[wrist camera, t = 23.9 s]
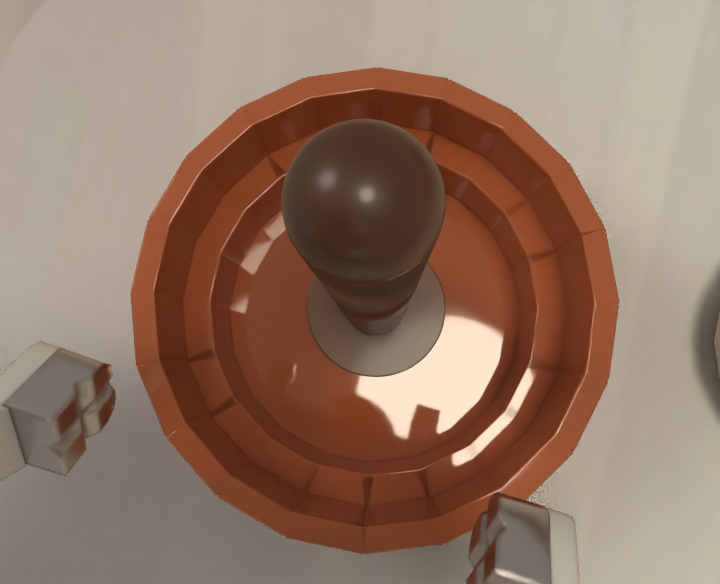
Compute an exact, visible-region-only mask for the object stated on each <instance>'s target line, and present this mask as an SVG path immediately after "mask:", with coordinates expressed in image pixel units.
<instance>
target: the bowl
mask: <svg viewBox="0 0 720 584" xmlns="http://www.w3.org/2000/svg"><path fill="white" fill-rule="evenodd" d="M351 119H374V120H381V121H385V122H388V123H391V124H394V125H397V126H399V127H400V128H402V129H404V130H406V131H407V132H409V133H411V134H412V135H413V136H414V137H415V138H416V139H418V140H419V141H420V142H421V143H422V144H423V145H424V146H425V148H426V149H427V150H428V152H429V153H430V154H431V156H432V157H433V158H434V160H435V162H436V164H437V166H438V168H439V170H440V172H441V175H442V179H443V183H444V187H445V203H446V205H445V216H444V221H443V225H442V228H441V231H440V234H439V237H438V239H437V241H436V243H435V246H434V248H433V250H432V253H431V255H430V257H429V260H428V263H429V264H430V265H431V267H432V268H433V269H434V271H435V272H436V274H437V276H438V278H439V280H440V283H441V285H442V288H443V292H444V297H445V319H444V325H443V328H442V331H441V334H440V336H439V338H438V340H437V342H436V344H435V345H434V347H433V348H432V350H431V351H430V352H429V353H428V354H427V355H426V357H424V358H423V359H422V360H421V361H420V362H419V363H417V364H416V365H414V366H413V367H411V368H409V369H407V370H405V371H403V372H401V373H398V374H395V375H390V376H385V377H368V376H362V375H358V374H355V373H352V372H349V371H347V370H345V369H343V368H341V367H340V366H338V365H337V364H335V363H334V362H332V361H331V360H330V359H329V358H328V357H327V356H326V355H325V354H324V353H323V351H322V350H321V349H320V348H319V346H318V344H317V343H316V341H315V339H314V337H313V335H312V333H311V330H310V326H309V322H308V317H307V300H308V294H309V290H310V287H311V284H312V281H313V279H314V277H315V274H314V273H313V272H312V271H311V269H310V268H309V267H308V265H307V264H306V263H305V261H304V260H303V259H302V257H301V256H300V255H299V253H298V252H297V250H296V249H295V247H294V246H293V244H292V242H291V240H290V238H289V236H288V234H287V231H286V228H285V224H284V219H283V215H282V206H281V194H282V189H283V183H284V179H285V176H286V174H287V171H288V169H289V166H290V164H291V162H292V160H293V159H294V157H295V156H296V154H297V153H298V151H299V150H300V148H301V147H302V146H303V145H304V144H305V143H306V142H307V141H308V140H309V139H310V138H311V137H313V136H314V135H315V134H317V133H318V132H320V131H321V130H323V129H325V128H327V127H329V126H331V125H334V124H336V123H339V122H343V121H347V120H351ZM186 157H187V158H185V159H184V161H183V162H182V164H181V166H180V167H179V169H178V171H177V172H176V174H175V176H174V177H173V179H172V181H171V182H170V184H169V186H168V187H167V189H166V191H165V192H164V194H163V196H162V197H161V199H160V201H159V202H158V204H157V206H156V207H155V209H154V211H153V212H152V214H151V216H150V218H149V219H150V220H148V221H147V225H146V229H145V234H144V238H143V242H142V246H141V250H140V254H139V259H138V263H137V267H136V271H135V275H134V280H133V284H132V288H131V291H132V292H131V304H132V318H133V331H134V344H135V358H136V366H138V367H137V369H138V371H139V374H140V376H141V379H142V381H143V384H144V386H145V388H146V391H147V393H148V396H149V398H150V401H151V403H152V405H153V408H154V410H155V413H156V415H157V418H158V420H159V422H160V425H161V427H162V430H163V432H164V435H165V436H166V437H167V436H168V437H167V439H168V441H169V442H170V443H171V444H172V445H173V446H174V447H175V449H176V450H177V451H178V452H179V453H180V454H181V456H182V457H183V458H184V459H185V460H186V461H187V463H188V464H189V465H190V466H191V467H192V468H193V470H194V471H195V472H196V473H197V474H198V475H199V477H200V478H201V479H202V480H203V481H204V482H205V484H206V485H207V486H208V487H209V488H210V489H211V491H212V492H213V493H214V494H215V495H218V497H219V498H220V499H222V500H223V501H225V502H227V503H228V504H230V505H232V506H233V507H235V508H237V509H238V510H240V511H242V512H243V513H245V514H247V515H248V516H250V517H252V518H254V519H255V520H257V521H259V522H260V523H262V524H264V525H265V526H267V527H269V528H270V529H272V530H274V531H275V532H277V533H279V534H280V535H282V536H285V537H286V538H289V539H294V540H298V541H303V542H308V543H312V544H317V545H322V546H327V547H331V548H336V549H341V550H346V551H350V552H355V553H360V554H363V553H364V554H369V553H377V552H386V551H394V550H402V549H410V548H418V547H427V546H435V545H442V544H443V543H448V542H450V541H452V540H454V539H456V538H458V537H460V536H462V535H464V534H466V533H468V532H470V531H472V530H473V529H474V526H475V523H476V521H477V519H478V517H479V516H480V514H481V512H484V511H487V510H488V503H489V499H490V498H491V496H492V495H493V493H495V492H500V493H503V494H506V495H510V496H513V497H516V498H519V499H522V500H526V499H527V498H529V497H530V496H531V495H532V494H533V493H534V492H535V491H536V490H537V489H538V488H539V487H540V486H541V485H542V484H543V483H544V482H545V481H546V480H547V479H548V478H549V477H550V476H551V475H552V474H553V473H554V472H555V471H556V470H557V469H558V468H559V467H560V466H561V465H562V464H563V463H564V462H565V461H566V460H567V459H568V458H569V457H570V456H571V455H572V454H573V451H574V450H575V448H576V446H577V444H578V442H579V440H580V438H581V436H582V434H583V432H584V430H585V428H586V426H587V424H588V422H589V420H590V418H591V416H592V414H593V412H594V410H595V408H596V406H597V404H598V402H599V400H600V398H601V396H602V394H603V392H604V390H605V388H606V386H607V383H608V381H607V380H608V379H609V375H610V367H611V360H612V352H613V345H614V338H615V330H616V323H617V315H618V308H619V306H618V304H619V298H618V293H617V287H616V282H615V277H614V272H613V266H612V261H611V256H610V251H609V245H608V240H607V235H606V230H605V229H604V225H603V223H602V221H601V220H600V218H599V216H598V214H597V212H596V211H595V209H594V207H593V205H592V203H591V201H590V200H589V198H588V196H587V194H586V192H585V191H584V189H583V187H582V185H581V183H580V182H579V180H578V178H577V176H576V174H575V172H574V171H573V169H572V167H571V165H570V163H567V161H566V159H564V158H563V157H562V156H561V155H560V154H559V153H558V152H557V151H556V150H555V149H554V148H553V147H552V146H551V145H550V144H549V143H548V142H546V141H545V140H544V139H543V138H542V137H541V136H540V135H539V134H538V133H537V132H536V131H535V130H534V129H533V128H532V127H531V126H530V125H529V124H527V123H526V122H525V121H524V120H523V119H522V118H521V117H520V116H519V115H518V114H517V113H515V112H514V113H513V110H511V109H509V108H507V107H505V106H503V105H501V104H499V103H497V102H495V101H493V100H491V99H489V98H487V97H485V96H482V95H480V94H478V93H476V92H474V91H472V90H470V89H468V88H466V87H464V86H462V85H460V84H458V83H456V82H454V81H452V80H448V79H447V78H442V77H436V76H429V75H423V74H417V73H410V72H404V71H398V70H391V69H385V68H377V69H376V68H369V69H362V70H355V71H348V72H341V73H334V74H327V75H319V76H312V77H307V78H306V79H305V78H302V79H300V80H298V81H296V82H294V83H292V84H290V85H287V86H285V87H283V88H281V89H279V90H277V91H275V92H272V93H270V94H268V95H266V96H264V97H262V98H260V99H257V100H255V101H253V102H251V103H249V104H247V105H245V106H242V107H240V109H238V110H237V111H236V112H234V113H233V114H232V115H231V116H230V117H229V118H228V119H227V120H226V121H224V122H223V123H222V124H221V125H220V126H219V127H218V128H217V129H216V130H214V131H213V132H212V133H211V134H210V135H209V136H208V137H207V138H205V139H204V140H203V141H202V142H201V143H200V144H199V145H198V146H197V147H195V148H194V149H193V150H192V151H191V152H190V153H189V154H188V155H187V156H186Z"/></svg>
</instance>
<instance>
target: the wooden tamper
mask: <svg viewBox="0 0 720 584" xmlns="http://www.w3.org/2000/svg"><path fill="white" fill-rule="evenodd" d="M445 205H446V203H445V187H444V183H443V179H442V175H441V172H440V170H439V168H438V166H437V164H436V162H435V160H434V158H433V157H432V156H431V154H430V153H429V152H428V150H427V149H426V148H425V146H424V145H423V144H422V143H421V142H420V141H419V140H418V139H416V138H415V137H414V136H413V135H412V134H411V133H409V132H407V131H406V130H404V129H402V128H400V127H399V126H397V125H394V124H391V123H388V122H385V121H381V120H374V119H351V120H347V121H343V122H339V123H336V124H334V125H331V126H329V127H327V128H325V129H323V130H321V131H320V132H318V133H317V134H315V135H314V136H313V137H311V138H310V139H309V140H308V141H307V142H306V143H305V144H304V145H303V146H302V147H301V148H300V150H299V151H298V153H297V154H296V156H295V157H294V159H293V160H292V162H291V164H290V166H289V169H288V171H287V174H286V176H285V179H284V183H283V189H282V194H281V206H282V215H283V219H284V224H285V228H286V231H287V234H288V236H289V238H290V240H291V242H292V244H293V246H294V247H295V249H296V250H297V252H298V253H299V255H300V256H301V257H302V259H303V260H304V261H305V263H306V264H307V265H308V267H309V268H310V269H311V271H312V272H313V273H314V274H315V277H314V279H313V281H312V284H311V287H310V290H309V294H308V300H307V317H308V322H309V326H310V330H311V333H312V335H313V337H314V339H315V341H316V343H317V344H318V346H319V348H320V349H321V350H322V351H323V353H324V354H325V355H326V356H327V357H328V358H329V359H330V360H331V361H332V362H334V363H335V364H337V365H338V366H340V367H341V368H343V369H345V370H347V371H349V372H352V373H355V374H358V375H362V376H368V377H385V376H390V375H395V374H398V373H401V372H403V371H405V370H407V369H409V368H411V367H413V366H414V365H416V364H417V363H419V362H420V361H421V360H422V359H423V358H424V357H426V355H427V354H428V353H429V352H430V351H431V350H432V348H433V347H434V345H435V344H436V342H437V340H438V338H439V336H440V334H441V331H442V328H443V325H444V319H445V297H444V292H443V288H442V285H441V283H440V280H439V278H438V276H437V274H436V272H435V271H434V269H433V268H432V267H431V265H430V264H429V263H428V260H429V257H430V255H431V253H432V250H433V248H434V246H435V243H436V241H437V239H438V237H439V234H440V231H441V228H442V225H443V221H444V216H445Z"/></svg>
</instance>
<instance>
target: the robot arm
mask: <svg viewBox="0 0 720 584" xmlns="http://www.w3.org/2000/svg"><path fill="white" fill-rule="evenodd" d="M112 377H113V373H112V368H111V365H109V364H106V363H103V362H100V361H97V360H94V359H92V358H89V357H86V356H83V355H80V354H77V353H74V352H71V351H69V350H66V349H64V348H60V347H57V346H54V345H51V344H48V343H45V342H42V341H39V342H37V343H35V344H33V345H31V346H30V347H29V348H28V349H27V350H26V351H24V352H23V353H22V354H21V355H20V356H19V357H18V358H17V359H16V360H15V361H14V362H13V363H12V364H11V365H10V366H9V367H7V368H6V369H5V370H4V371H3V372H2V373H1V374H0V481H2V480H4V479H5V478H7V477H9V476H11V475H12V474H14V473H16V472H18V471H19V470H21V469H23V468H25V467H26V464H27V465H31V466H34V467H37V468H40V469H43V470H47V471H50V472H53V473H56V474H59V475H62V476H66V475H67V474H68V473H69V471H70V470H71V469H72V468H73V466H74V465H75V464H76V462H77V461H78V460H79V459H80V457H81V456H82V455H83V453H84V452H85V451H86V439H87V438H89V437H91V436H93V435H96V434H98V433H100V431H101V430H102V429H103V427H104V426H105V425H106V423H107V422H108V420H109V418H110V416H111V414H112V411H113V409H114V405H115V399H116V397H115V390H114V389H113V388H112V386H111V385H110V384H109V383H108V382H109V380H110V379H111V378H112ZM469 560H470V562H471V564H472V566H473V568H474V570H473V571H472V573H471V574H470V576H469V577H468V579H467V580H466V584H580V579H579V566H578V552H577V538H576V524H575V521H574V519H573V517H572V516H570V515H568V514H564V513H561V512H558V511H555V510H551V509H548V508H545V506H542V505H538V504H535V503H532V502H529V501H526V500H522V499H519V498H516V497H513V496H510V495H506V494H503V493H500V492H495V493H493V495H492V496H491V498H490V499H489V503H488V510H487V511H484V512H481V514H480V516H479V517H478V519H477V521H476V523H475V526H474V529H473V532H472V536H471V542H470V549H469Z"/></svg>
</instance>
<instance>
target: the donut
mask: <svg viewBox="0 0 720 584" xmlns="http://www.w3.org/2000/svg"><path fill="white" fill-rule="evenodd" d="M714 345H715V352H716V359H717V366H718V374H719V379H720V312H719V318H718V323H717V328H716V334H715V339H714Z"/></svg>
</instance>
